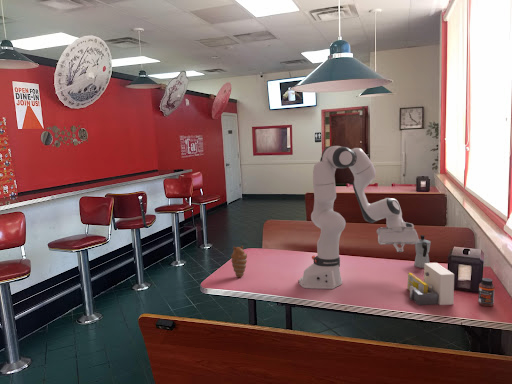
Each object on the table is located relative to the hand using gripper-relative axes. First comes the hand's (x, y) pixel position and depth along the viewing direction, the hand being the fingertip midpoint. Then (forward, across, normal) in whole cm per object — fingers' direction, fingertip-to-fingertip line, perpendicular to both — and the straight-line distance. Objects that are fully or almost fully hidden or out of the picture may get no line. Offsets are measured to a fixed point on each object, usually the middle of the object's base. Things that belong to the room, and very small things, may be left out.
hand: (400, 251), depth 201 cm
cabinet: (+26, +11, -6) cm, 29 cm away
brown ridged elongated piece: (+7, -85, +19) cm, 87 cm away
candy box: (+24, +3, -3) cm, 24 cm away
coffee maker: (-2, +20, +28) cm, 34 cm away
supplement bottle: (+30, +29, -12) cm, 44 cm away
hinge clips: (+28, +3, -8) cm, 29 cm away
